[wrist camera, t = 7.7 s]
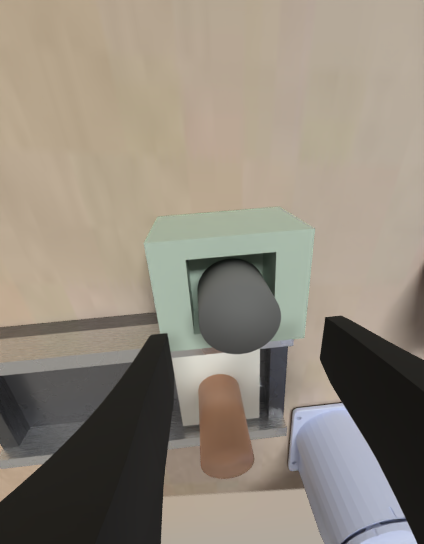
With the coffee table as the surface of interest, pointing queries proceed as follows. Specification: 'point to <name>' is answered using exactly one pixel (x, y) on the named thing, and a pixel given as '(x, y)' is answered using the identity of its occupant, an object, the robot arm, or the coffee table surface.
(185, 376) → the plaque with round peg
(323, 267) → the coffee table surface
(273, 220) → the cabinet
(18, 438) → the grey rectangular tray
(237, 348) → the button
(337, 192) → the coffee table surface
